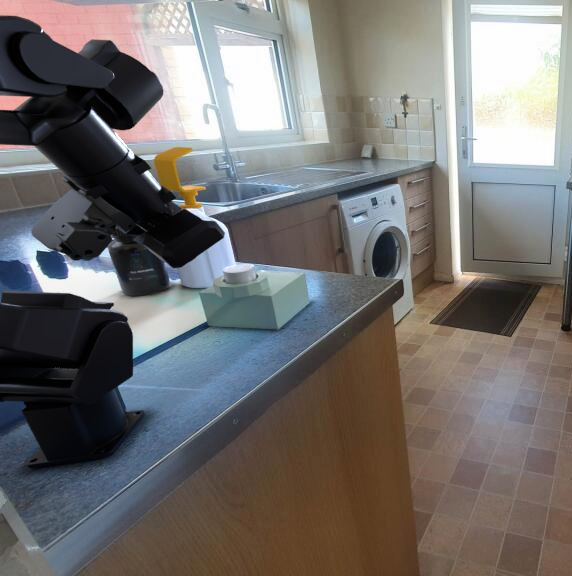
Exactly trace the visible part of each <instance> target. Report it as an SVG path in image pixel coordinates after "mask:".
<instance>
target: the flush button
mask: <svg viewBox="0 0 572 576" xmlns="http://www.w3.org/2000/svg"><path fill="white" fill-rule="evenodd" d="M255 270H256V269H255V265H254V264H251V263H238V264H237V263H236V265H232V266H228V267H226V268H224V269H223V274H224V278H225V282H226V283H227V284H240V283H246V282H249V281H253V280H255V279H257V277H256V273H255Z"/></svg>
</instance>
